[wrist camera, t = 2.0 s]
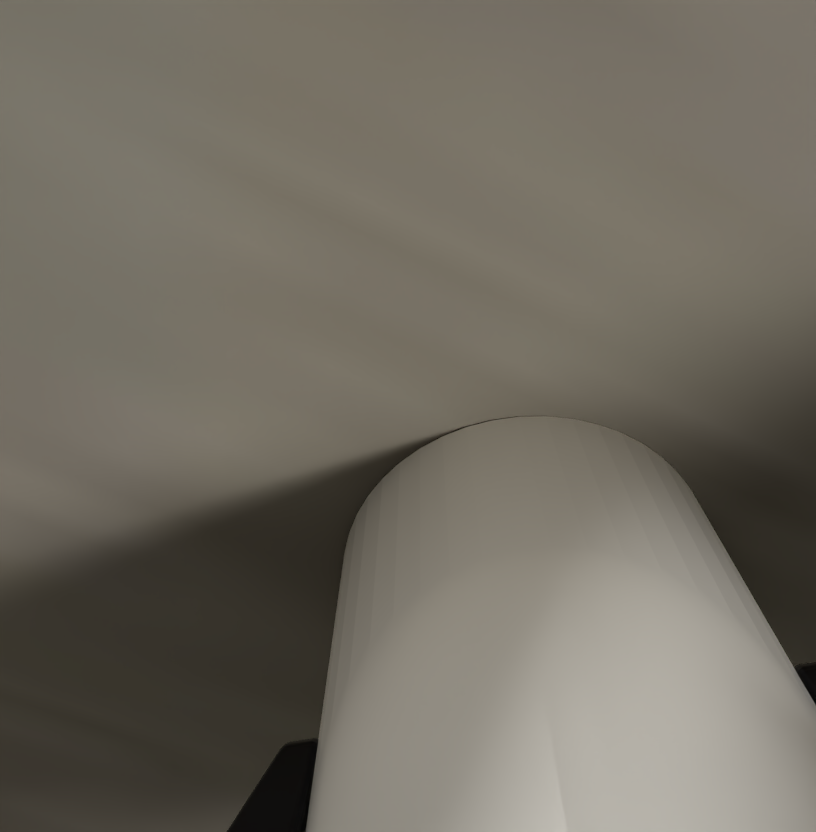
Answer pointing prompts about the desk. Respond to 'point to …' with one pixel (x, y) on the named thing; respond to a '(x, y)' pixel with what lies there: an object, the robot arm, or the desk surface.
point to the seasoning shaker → (553, 652)
